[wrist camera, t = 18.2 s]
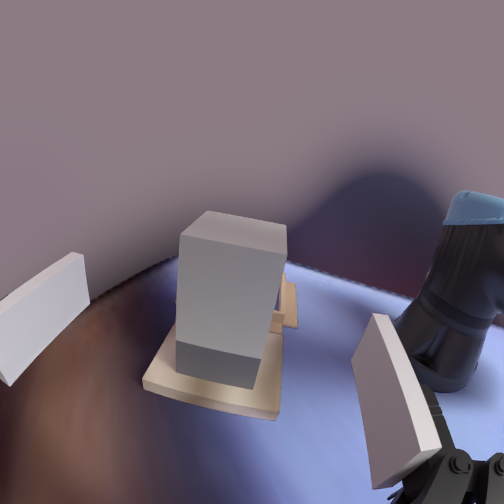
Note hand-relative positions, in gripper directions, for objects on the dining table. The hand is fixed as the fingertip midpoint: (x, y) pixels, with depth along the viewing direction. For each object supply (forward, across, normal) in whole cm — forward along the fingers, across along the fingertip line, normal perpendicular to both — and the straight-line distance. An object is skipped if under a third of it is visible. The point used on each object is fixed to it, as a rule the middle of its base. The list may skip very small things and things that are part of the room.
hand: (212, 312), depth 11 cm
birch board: (+10, -1, -14) cm, 18 cm away
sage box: (+10, -1, -13) cm, 16 cm away
